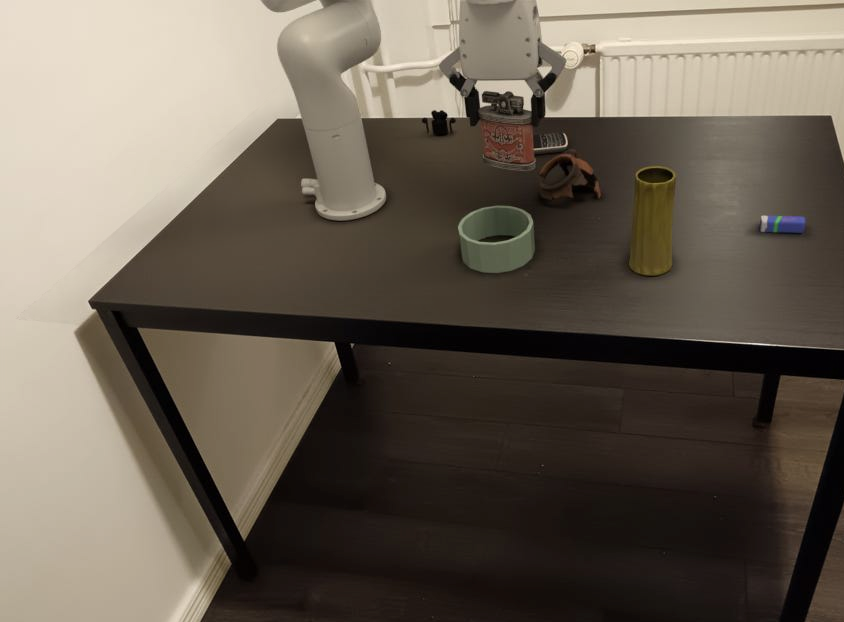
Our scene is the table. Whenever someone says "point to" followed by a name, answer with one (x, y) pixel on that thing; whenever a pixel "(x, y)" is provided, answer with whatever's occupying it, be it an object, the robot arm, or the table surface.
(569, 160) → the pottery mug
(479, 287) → the table surface
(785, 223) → the eraser
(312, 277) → the table surface
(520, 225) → the pale green hollow ring
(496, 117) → the lighter
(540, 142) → the cell phone
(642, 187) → the vase
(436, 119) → the wireless earbuds
